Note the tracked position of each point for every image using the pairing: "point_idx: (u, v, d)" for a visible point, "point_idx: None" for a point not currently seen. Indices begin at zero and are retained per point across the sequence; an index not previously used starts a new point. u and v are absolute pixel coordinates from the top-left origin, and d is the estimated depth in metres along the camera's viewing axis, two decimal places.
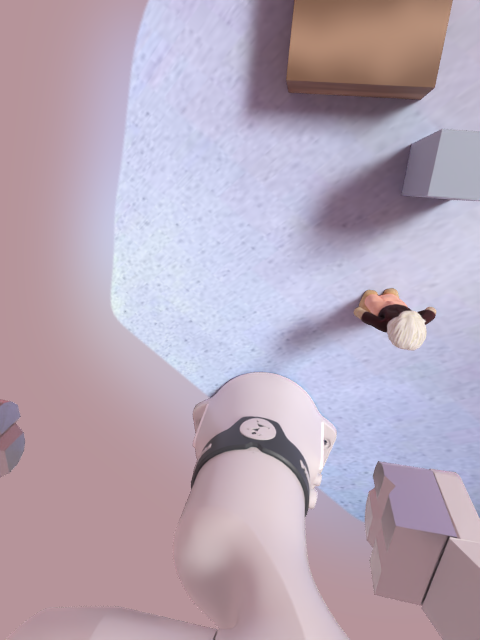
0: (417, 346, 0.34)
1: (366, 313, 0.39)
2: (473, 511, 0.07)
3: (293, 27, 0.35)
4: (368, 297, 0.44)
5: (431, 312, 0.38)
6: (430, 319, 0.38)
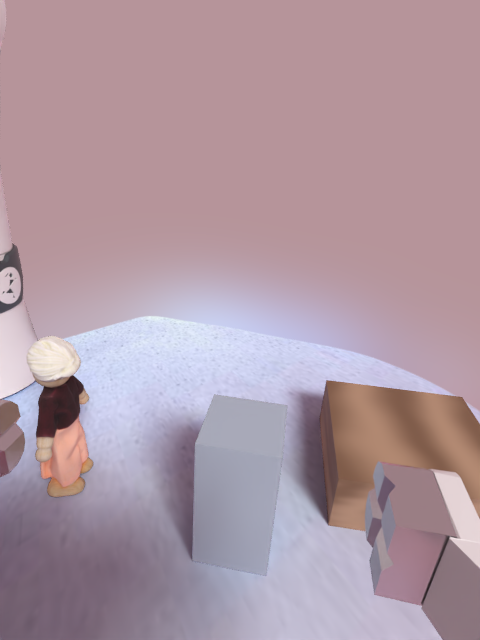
0: (31, 350, 0.27)
1: (82, 384, 0.32)
2: (474, 512, 0.07)
3: (368, 386, 0.40)
4: None
5: (50, 430, 0.27)
6: (42, 422, 0.27)
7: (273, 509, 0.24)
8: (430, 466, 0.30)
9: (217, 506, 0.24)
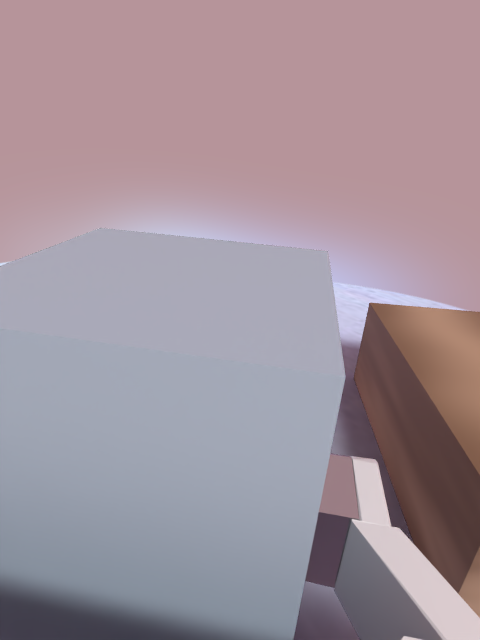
0: None
1: None
2: (383, 496, 0.07)
3: (449, 310, 0.21)
4: None
5: None
6: None
7: (286, 628, 0.05)
8: None
9: (58, 602, 0.06)
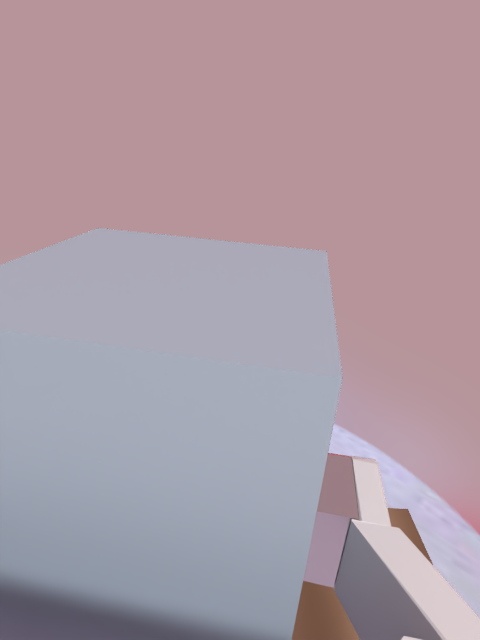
0: None
1: None
2: (384, 496, 0.07)
3: None
4: None
5: None
6: None
7: (283, 631, 0.05)
8: None
9: (54, 604, 0.06)
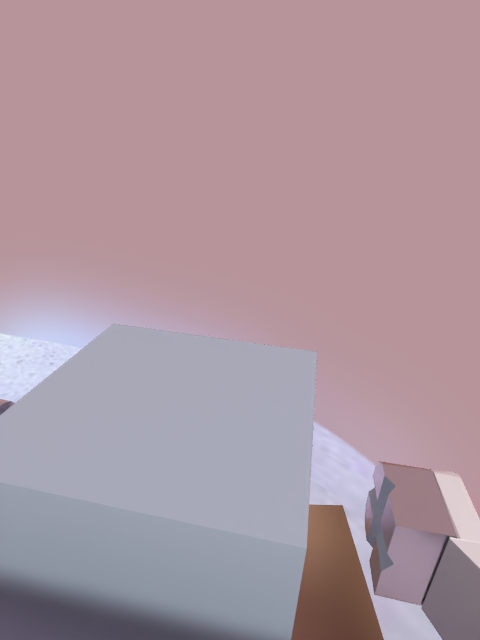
0: None
1: None
2: (474, 512, 0.07)
3: None
4: None
5: None
6: None
7: None
8: None
9: None
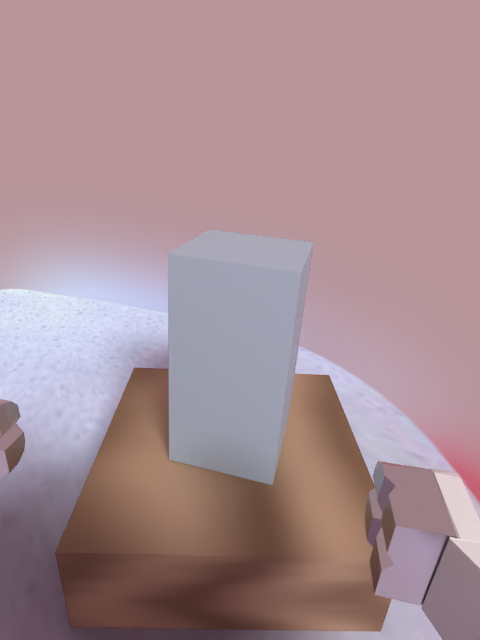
0: None
1: None
2: (473, 511, 0.07)
3: None
4: None
5: None
6: None
7: (285, 369, 0.16)
8: (244, 499, 0.17)
9: (202, 366, 0.17)
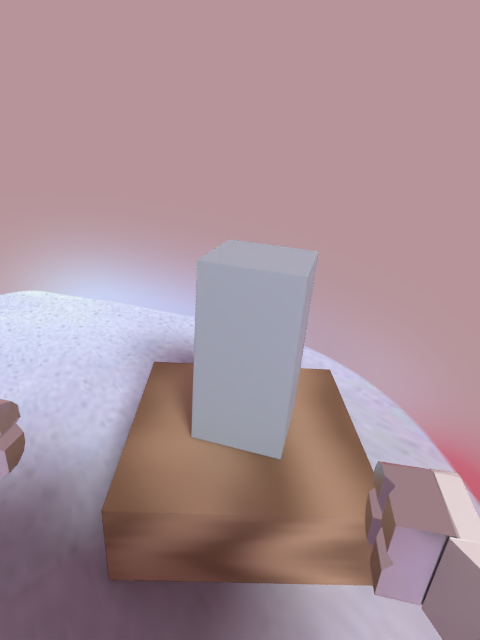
0: None
1: None
2: (474, 512, 0.07)
3: None
4: None
5: None
6: None
7: (293, 358, 0.19)
8: (258, 472, 0.20)
9: (223, 355, 0.20)
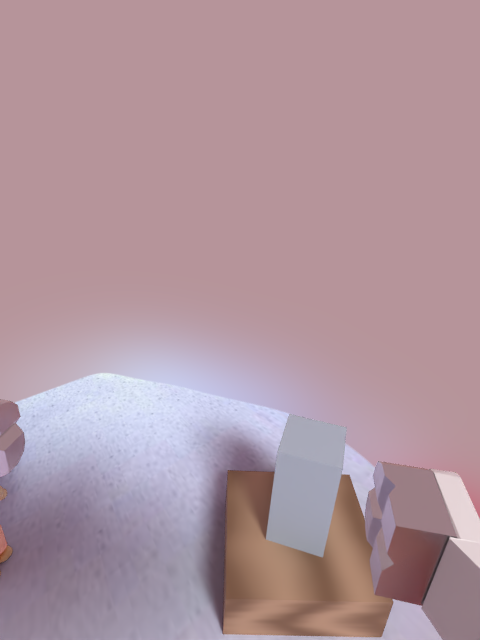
0: None
1: None
2: (474, 512, 0.07)
3: (266, 472, 0.42)
4: (5, 539, 0.37)
5: None
6: None
7: (332, 506, 0.32)
8: (310, 568, 0.33)
9: (289, 499, 0.33)
